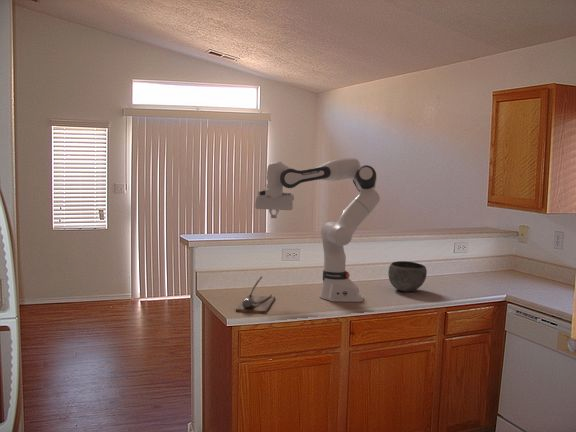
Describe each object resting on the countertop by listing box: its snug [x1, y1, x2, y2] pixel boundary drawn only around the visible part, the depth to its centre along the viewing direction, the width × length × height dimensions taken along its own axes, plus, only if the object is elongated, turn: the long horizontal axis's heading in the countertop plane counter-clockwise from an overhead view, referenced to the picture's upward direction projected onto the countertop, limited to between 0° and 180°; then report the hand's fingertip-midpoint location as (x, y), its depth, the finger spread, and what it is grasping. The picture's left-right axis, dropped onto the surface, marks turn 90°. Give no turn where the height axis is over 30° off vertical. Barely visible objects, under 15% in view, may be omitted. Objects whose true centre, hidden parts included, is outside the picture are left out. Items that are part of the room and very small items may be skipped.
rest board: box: [235, 294, 276, 314], centre depth 280 cm, size 14×28×1 cm, turn 172°
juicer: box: [241, 276, 273, 309], centre depth 280 cm, size 10×11×30 cm
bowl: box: [388, 260, 428, 293], centre depth 319 cm, size 21×21×15 cm
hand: (273, 218), depth 310 cm, fingers closed
